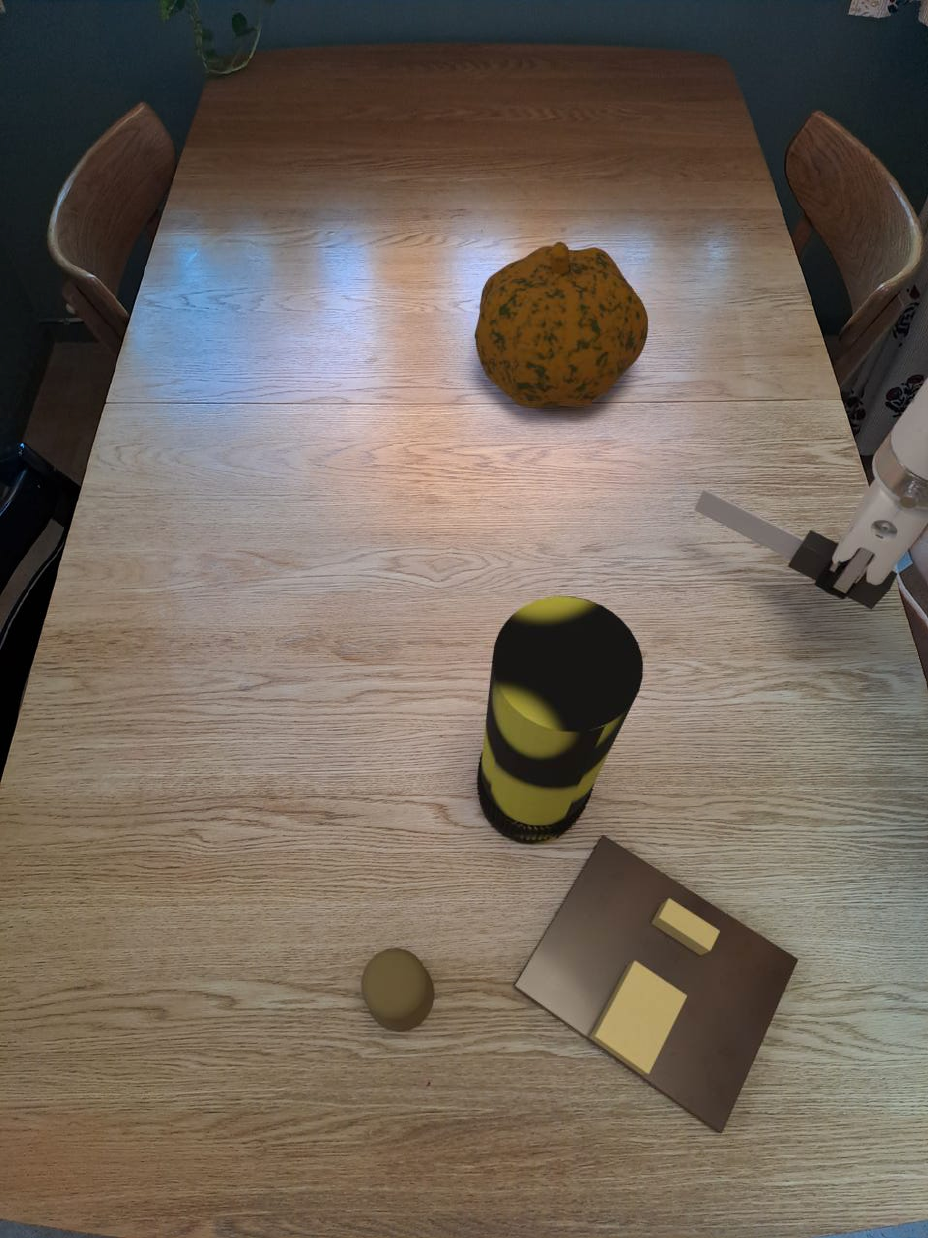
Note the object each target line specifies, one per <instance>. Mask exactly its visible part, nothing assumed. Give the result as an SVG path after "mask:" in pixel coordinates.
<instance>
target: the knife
mask: <svg viewBox="0 0 928 1238" xmlns="http://www.w3.org/2000/svg"><path fill="white" fill-rule="evenodd" d="M694 511H695V512H697V513H699V514H701V515H703V516H705V517H707V518H708V519H711V520H712V521H714V522H716V523H718V524H720V525H722V526H724V527H726V528H728V529H730V530H732V531H734V532H736V533H738V534H740V535H742V536H743V537H745V538H747V539H749V540H751V541H753V542H755V543H757V544H759V545H761V546H763V547H765V548H766V549H769V550H771V551H773V552H775V553H777V554H778V555H781V556H782V557H785V558H786V559H788V560H790V561H789V562H788V564H787V567H788V568H789V569H792V570H793V571H796V572H798V573H800V574H802V575H803V576H806V577H807V578H809V579H811V580H813V581H815V582H816V580H817V578H818V577H819V576H820V574H821V573H822V572H823V570H824V569H825V568H826V566H827V565H828V564H829V562H830V561H831V560H832V557H833V555H834V553H835V551H836V548H837V546H838V544H839V543H838V542H836V541H834V540H832V539H830V538H828V537H826V536H825V535H822V534H820V533H818V532H816V531H814V530H812V529H810V530H809V531H808V532H807V533H806V535H805V537H802V536H800V535H798V534H796V533H794V532H792V531H790V530H788V529H786V528H784V527H782V526H780V525H778V524H776V523H774V522H773V521H771V520H768V519H766V518H765V517H763V516H760V515H758V514H756V513H754V512H752V511H751V510H749V509H746V508H745V507H742V506H741V505H739V504H736V503H734V502H733V501H731V500H728V499H727V498H724V497H722V496H721V495H719V494H717V493H715V492H713V491H711V490H709V489H707V488H705V487H704V488H703V489H702V491H701V494H700V496H699V498H698V501H697V502H696V505H695V507H694ZM832 561H833V560H832ZM844 562H845V563H847V564H848V563H849V561H847V560H846V561H844ZM897 577H898V573H897V572H896V571H894V570H892V571H891V572H890V573H889V574H888V576H887V577H886V578H885V580H884V581H883V582H882V583H881V584H878V585H873V584H871V583H869V582H867V571H866V573H865V574H864V575H863V576H862V578H861V580H860V581H859V582H858V584H857V585H856V586H855V587H854V588H853V590H852V591H851V592H850V593H849V594H848V596H847V597H846V598H848V599H850V600H852V601H853V602H856V603H857V604H859V605H862V606H863V607H866V608H867V609H870V610H873V609H874V607H875V606H877V604H878V603H879V602H880V601H881V600H882V599H883V598H884V597H885V596H886V595H887V594H888V592H889V591H890V590H891V589H892V586H893V584H894V582H895V580H896V578H897Z"/></svg>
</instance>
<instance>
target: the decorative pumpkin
mask: <svg viewBox="0 0 928 1238" xmlns="http://www.w3.org/2000/svg"><path fill="white" fill-rule="evenodd" d="M480 296H481V297H480V302H479V314H478V318H477V323H476V327H475V331H474V335H473V337H474V340H475V347H476V352H477V356H478V358H479V362H480V365H481V367H482V370H483V371H484V373H485V375H486V377H487V378H488V380H489V381H490V382H491V383H492V384H494V385H495V386H496V387H497V388H498V389H499V390H500V391H501V392H502V393H503V394H505V396H507V397H508V398H509V399H510V400H512V401H513V402H514V403H516V404H517V405H519V406H521V407H527V408H557V407H560V406H564V407H566V406H568V407H575V408H577V407H578V408H583V407H584V408H585V407H588V406H590V405H591V404H592V403H594V402H595V401H596V400H598V399H599V398H601V397H602V396H603V395H605V394H606V393H607V392H608V391H609V390H610V389H611V388H612V387H613V386H614V385H615V384H616V383H617V382H618V381H619V379H620V378H621V377H622V376H623V375H624V374H625V373H626V372H627V371H628V370H629V369H630V368H631V367H632V366H633V365H634V364H635V363H636V361H638V359H639V357H640V356H641V354H642V352H643V350H644V348H645V345H646V341H647V339H648V333H649V317H648V313H647V309H646V307H645V304H644V302H643V301H642V299H641V297H640V296H639V294H637V292H636V291H635V290H634V288H633V286H632V285H630V283H629V282H628V280H627V279H626V277H625V275H623V273H622V272H621V270H620V268H619V267H618V265H617V263H616V262H615V260H614V259H613V258H612V257H611V256H610V255H609V253H608V252H607V251H606V250H603V249H602V248H599V247H595V246H594V247H592V246H591V247H588V248H581V249H570V248H569V246H568V245H566V243H565V242H562V241H557V242H555V243H554V244H553V246H551V245H545V246H544V245H543V246H541V247H539V248H537V249H535V250H533V251H532V252H531V253H529V254H528V255H526V256H525V257H523V258H520V259H518V260H515V261H513V262H510V263H508V264H506V265H504V266H503V267H502V268H500V269H499V270H497V271H496V272H495V273H493V274H492V275H490V276H489V278H488V279H487V280H486V281H485V284H484V285H483V288H482V290H481V295H480Z"/></svg>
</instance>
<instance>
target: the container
mask: <svg viewBox="0 0 928 1238" xmlns="http://www.w3.org/2000/svg"><path fill="white" fill-rule="evenodd" d="M643 672H644V661H643V655H642V651H641V647H640V645H639V643H638V641H637V638H636V637H635V635H634V634H633V632H632V630H631V629H630V628H629V627H628V625H627V624H626V623H625V622H624V621H623V619H621V618H620V617H619V616H618V615H617V614H615V612H614V611H612V610H610V609H608V608H607V607H605V606H604V605H601V604H599V603H597V602H595V601H592V600H589V599H586V598H581V597H576V596H569V595H568V596H567V595H559V596H558V595H557V596H549V597H544V598H541V599H537V600H534V601H532V602H530V603H528V604H526V605H524V606H522V607H521V608H519V609H518V610H517V611H515V612H514V613H513V614H512V615H510V617H508V619H507V620H506V621H505V622H504V623H503V625H502V627H501V628H500V630H499V631H498V634H497V637H496V639H495V642H494V644H493V652H492V660H491V669H490V678H489V688H488V697H487V705H486V714H485V715H486V717H485V724H484V725H485V726H484V735H483V745H482V750H481V751H480V756H479V759H478V760H479V761H478V762H477V763H478V765H477V775H476V790H477V795H478V801H479V805H480V807H481V809H482V812H483V814H484V817H485V818H486V820H487V821H488V823H489V824H490V826H491V827H492V828H494V829H495V830H496V831H497V832H498V833H499V834H501V836H503V837H505V838H508V839H509V840H511V841H514V842H516V843H519V844H526V845H538V844H546V843H549V842H550V841H553V840H556V839H558V838H560V837H561V836H562V835H563V834H565V833H566V832H568V831H569V830H570V828H572V826H573V825H574V824H576V823H577V820H580V818H581V816H582V814H583V813H584V811H585V809H586V807H587V805H588V802H589V800H590V799H591V797H592V793H593V791H594V786H595V783H596V780H597V778H598V776H599V774H600V772H601V770H602V768H603V766H604V764H605V762H606V761H607V760H606V759H607V757H608V755H609V753H610V752H611V749H612V748H613V746H614V743H615V742H616V740H617V737H618V735H619V733H620V731H621V729H622V727H623V725H624V723H625V721H626V719H627V717H628V715H629V713H630V711H631V708H632V707H633V705H634V703H635V700H636V699H637V696H638V694H639V692H640V688H641V685H642V682H643V678H644V673H643Z"/></svg>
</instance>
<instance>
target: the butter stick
mask: <svg viewBox="0 0 928 1238" xmlns="http://www.w3.org/2000/svg"><path fill="white" fill-rule="evenodd" d="M686 998H687V995H686V994H684V993H683V992H681V991H680V990H678V989H677V988H675V987H674V986H672V985H671V984H669V983H668V982H666V981H665V980H663V979H662V978H661V977H659V976H658V975H656V974H655V973H653V972H652V971H650V970H649V969H647V968H646V967H644V966H643V965H641V964H640V963H638V962H637V961H633V962H632V963H630V964H629V965H628V966H627V968H626V969H625V971H624V973H623V975H622V977H621V979H620V981H619V983H618V985H617V986H616V988H615V990H614V992H613V994H612V996H611V998H610V1000H609V1001H608V1003H607V1005H606V1007H605V1009H604V1011H603V1013H602V1015H601V1017H600V1018H599V1020H598V1022H597V1024H596V1026H595V1028H594V1030H593V1032H592V1033H591V1035H590V1039H592V1040H593V1041H594V1042H596V1043H597V1044H599V1045H600V1046H601V1047H603V1048H604V1049H606V1050H607V1051H608V1052H610V1053H611V1054H613V1055H614V1056H615V1057H617V1058H618V1059H620V1060H621V1061H622V1062H624V1063H625V1064H627V1065H628V1066H629V1067H631V1068H632V1069H634V1070H635V1071H636V1072H638V1073H639V1074H649V1073H650V1071H651V1069H652V1067H653V1065H654V1063H655V1061H656V1059H657V1057H658V1055H659V1053H660V1051H661V1049H662V1047H663V1045H664V1042H665V1040H666V1038H667V1036H668V1034H669V1032H670V1030H671V1028H672V1026H673V1024H674V1022H675V1020H676V1018H677V1016H678V1014H679V1012H680V1010H681V1008H682V1006H683V1004H684V1002H685V1000H686Z"/></svg>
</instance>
